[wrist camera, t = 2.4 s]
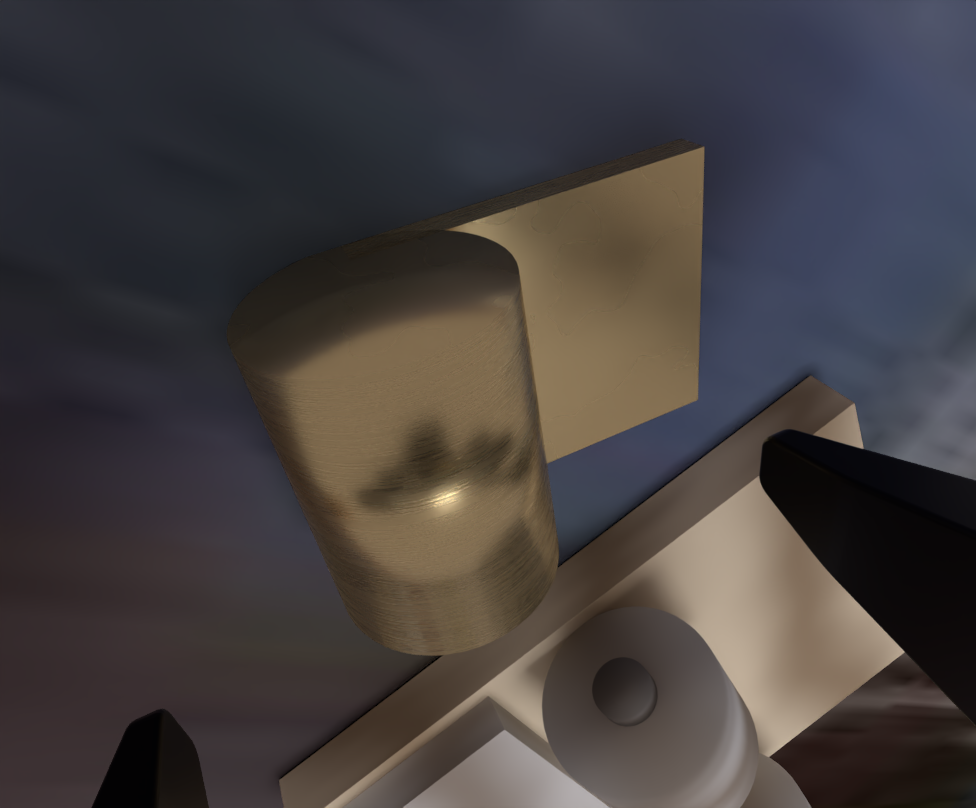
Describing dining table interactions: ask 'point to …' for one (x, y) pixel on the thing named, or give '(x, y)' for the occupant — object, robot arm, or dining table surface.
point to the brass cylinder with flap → (474, 384)
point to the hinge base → (635, 662)
